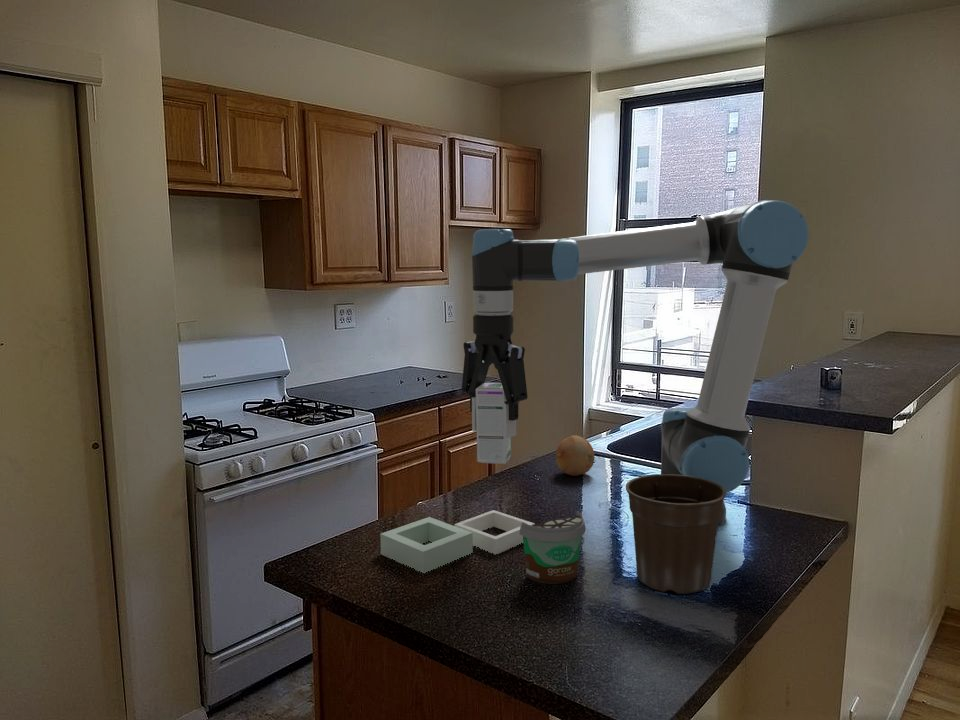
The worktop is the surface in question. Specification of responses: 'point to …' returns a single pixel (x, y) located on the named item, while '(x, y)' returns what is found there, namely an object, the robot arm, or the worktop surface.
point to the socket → (424, 558)
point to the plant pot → (675, 530)
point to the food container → (553, 549)
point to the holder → (499, 521)
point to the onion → (575, 455)
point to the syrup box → (491, 424)
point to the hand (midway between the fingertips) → (493, 432)
